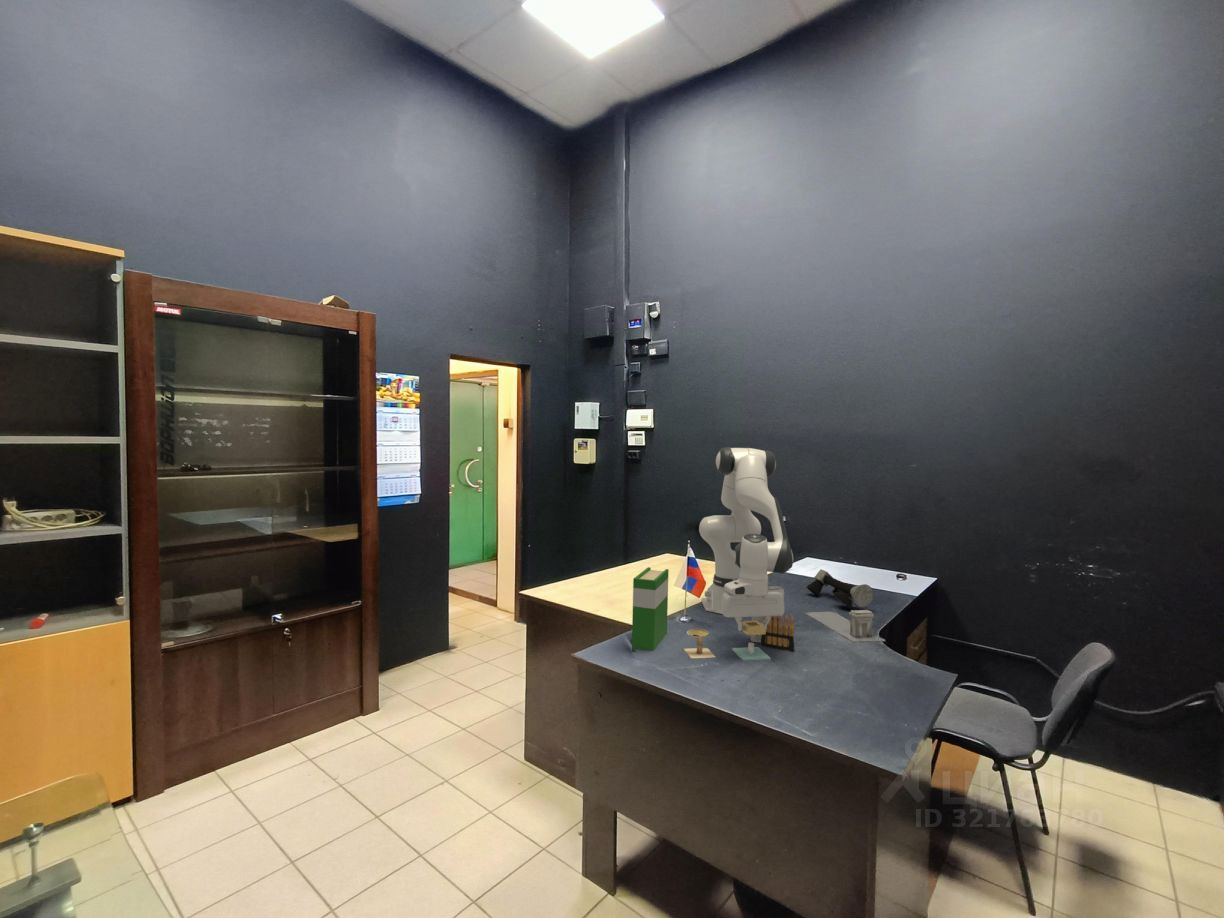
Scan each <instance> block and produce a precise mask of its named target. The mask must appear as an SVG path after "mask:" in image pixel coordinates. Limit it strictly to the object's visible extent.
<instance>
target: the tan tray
mask: <svg viewBox="0 0 1224 918" xmlns="http://www.w3.org/2000/svg"><path fill="white" fill-rule="evenodd" d="M740 622H741V624H743V625H745V628H744V629H745V630H744V631H742V632H743V633H744V634H745V635H747V636H751V635H762V634H766V627H765V626H764V625H763V624H761V623H760V622H758V621H752V620H746V621H745V620H744V621H742V620H740Z"/></svg>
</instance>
